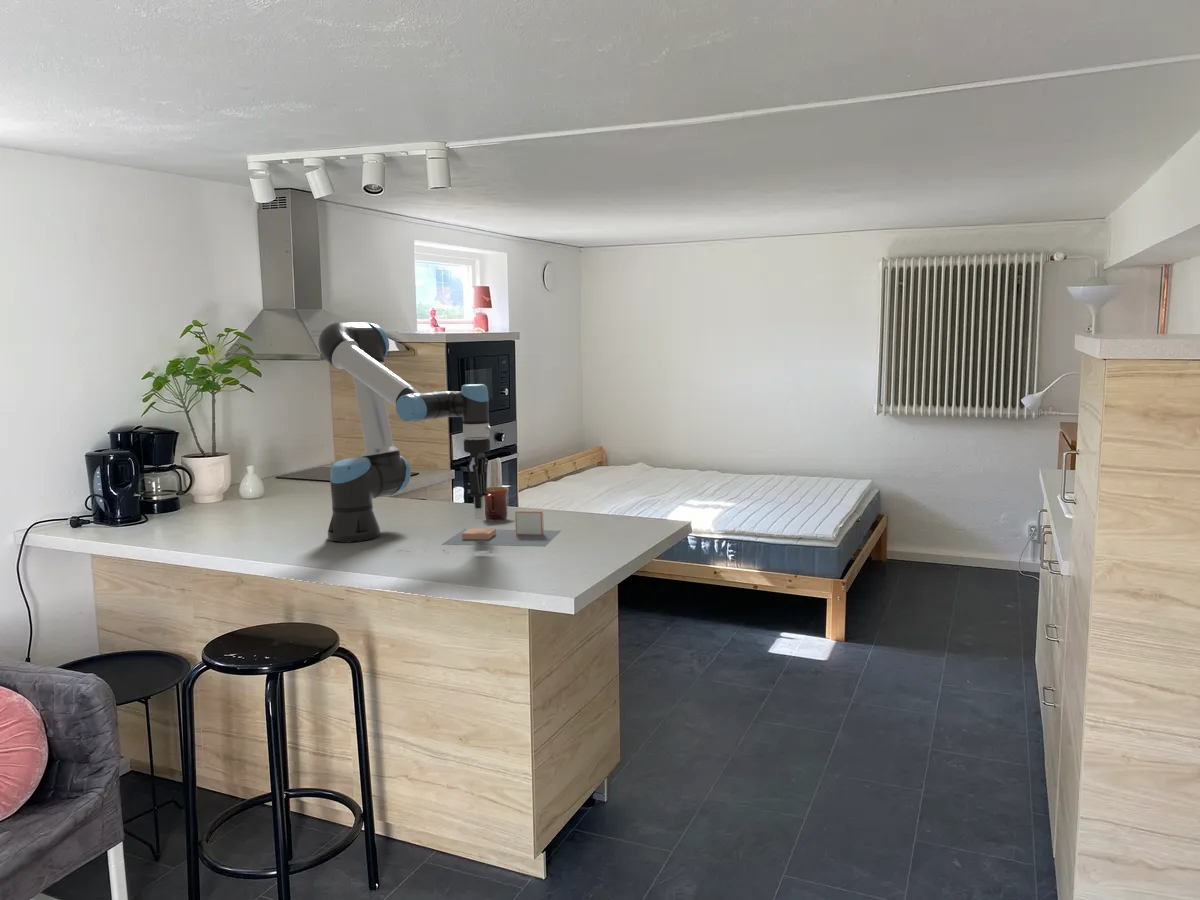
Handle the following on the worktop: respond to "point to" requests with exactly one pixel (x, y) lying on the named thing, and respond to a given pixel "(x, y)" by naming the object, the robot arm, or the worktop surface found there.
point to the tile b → (529, 522)
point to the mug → (496, 503)
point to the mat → (506, 539)
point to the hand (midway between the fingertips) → (480, 518)
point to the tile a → (478, 533)
